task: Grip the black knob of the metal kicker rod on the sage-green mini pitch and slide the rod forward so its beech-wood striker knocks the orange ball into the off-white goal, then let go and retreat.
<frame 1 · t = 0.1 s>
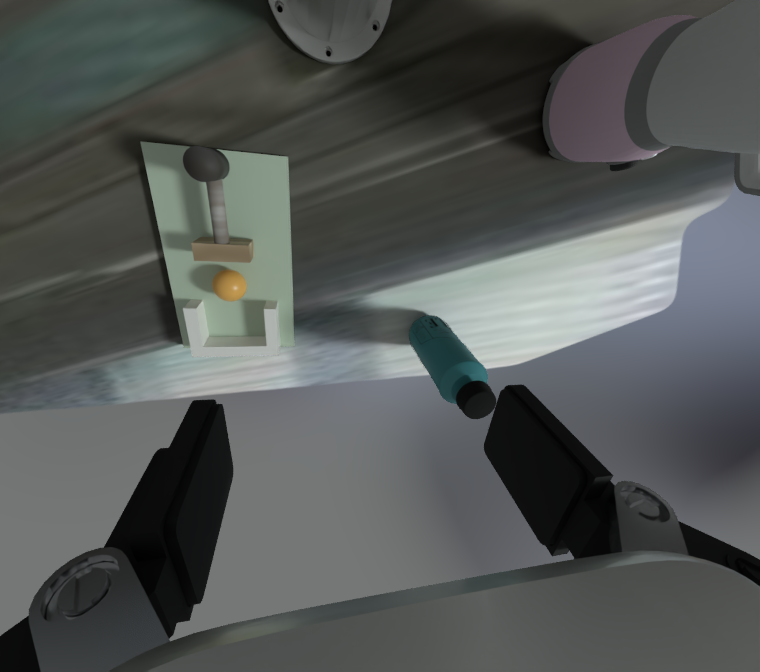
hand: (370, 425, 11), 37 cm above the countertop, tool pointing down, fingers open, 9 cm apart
ball: (229, 285, 41), point 3 cm above the countertop, touching pitch
blender: (579, 123, 43), on the countertop
goal: (238, 316, 46), resting on pitch
kicker rod: (216, 208, 35), point 5 cm above the countertop, slide at 0.0 cm
pitch: (232, 259, 42), on the countertop
beverage bottle: (423, 327, 53), on the countertop
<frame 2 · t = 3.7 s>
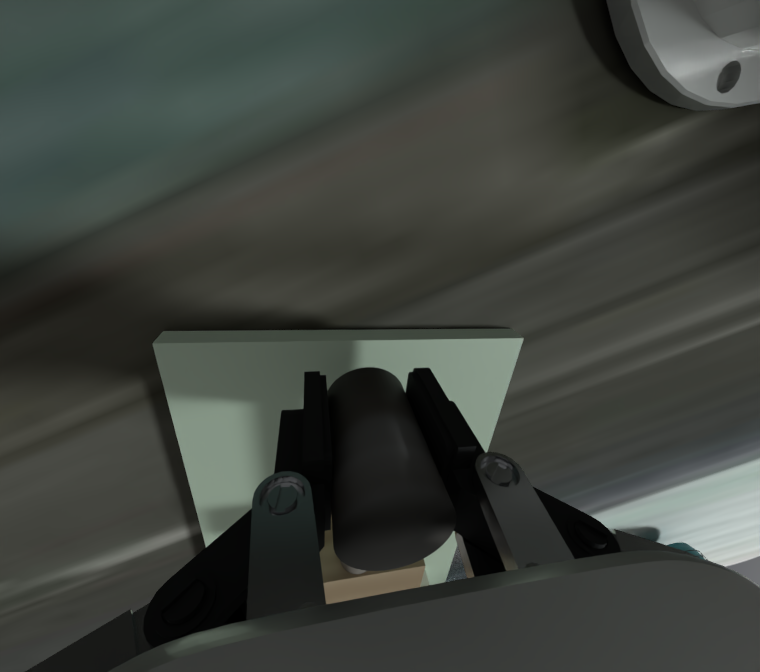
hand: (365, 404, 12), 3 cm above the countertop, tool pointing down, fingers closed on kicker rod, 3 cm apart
kicker rod: (364, 515, 12), point 5 cm above the countertop, slide at 0.0 cm, touching gripper
pitch: (346, 514, 20), on the countertop
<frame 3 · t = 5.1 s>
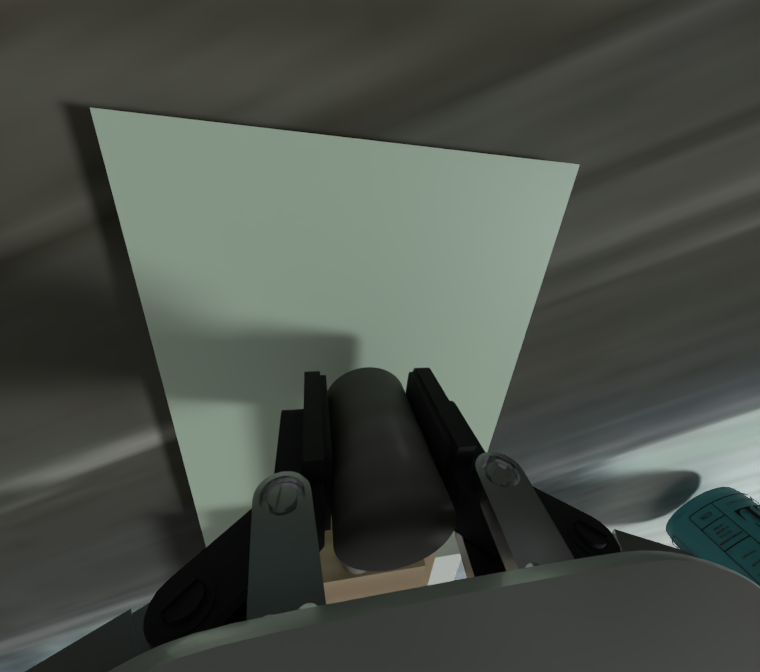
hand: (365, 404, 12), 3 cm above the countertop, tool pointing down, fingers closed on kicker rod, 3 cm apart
goal: (345, 525, 20), resting on pitch
kicker rod: (364, 515, 12), point 5 cm above the countertop, slide at 7.0 cm, touching gripper
pitch: (351, 427, 16), on the countertop
beverage bottle: (679, 492, 27), on the countertop
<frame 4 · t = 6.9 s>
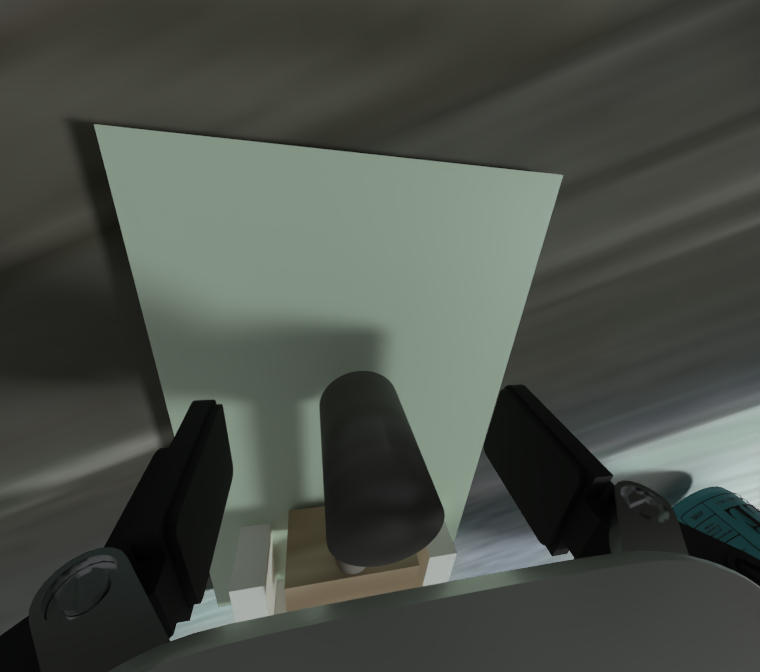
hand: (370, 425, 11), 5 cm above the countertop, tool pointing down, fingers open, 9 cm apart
goal: (341, 527, 20), resting on pitch
kicker rod: (359, 516, 13), point 5 cm above the countertop, slide at 7.0 cm
pitch: (346, 429, 17), on the countertop
beverage bottle: (672, 493, 27), on the countertop
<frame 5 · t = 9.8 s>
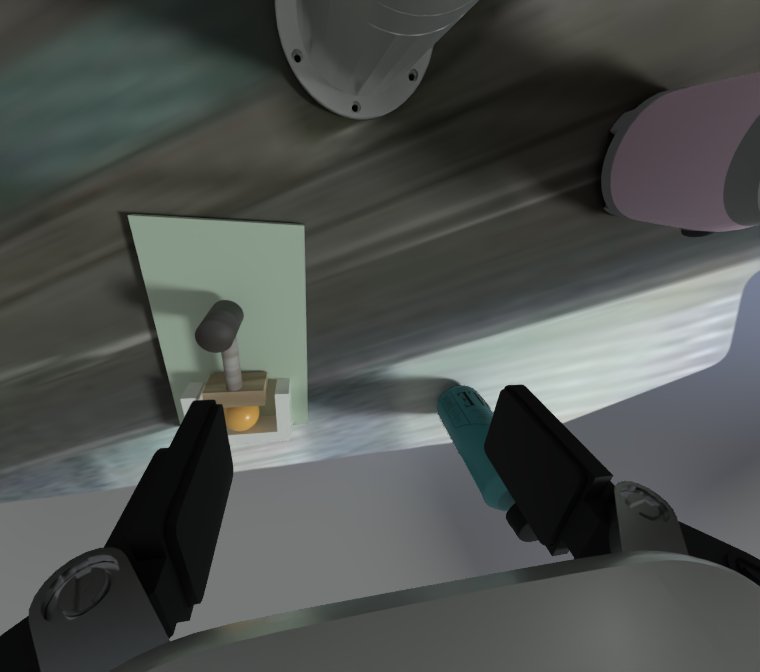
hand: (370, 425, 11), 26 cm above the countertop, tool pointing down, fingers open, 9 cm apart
ball: (241, 413, 37), point 3 cm above the countertop, tilted 169°, touching pitch
blender: (640, 175, 37), on the countertop
goal: (245, 394, 40), resting on pitch
kicker rod: (229, 359, 32), point 5 cm above the countertop, slide at 7.0 cm
pitch: (237, 336, 36), on the countertop
beverage bottle: (452, 394, 47), on the countertop
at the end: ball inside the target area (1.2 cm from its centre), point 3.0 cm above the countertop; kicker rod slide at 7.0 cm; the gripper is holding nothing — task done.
